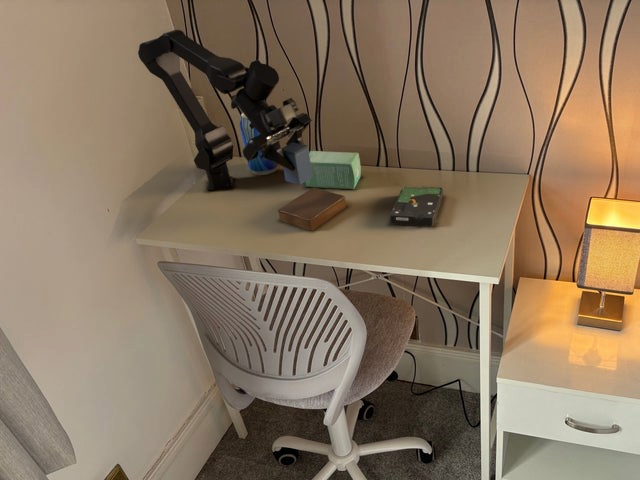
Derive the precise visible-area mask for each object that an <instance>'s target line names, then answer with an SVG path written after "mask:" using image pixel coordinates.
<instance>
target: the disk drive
mask: <svg viewBox="0 0 640 480" xmlns="http://www.w3.org/2000/svg"><path fill="white" fill-rule="evenodd" d="M443 197H444V190H443V187H436V186H435V187H433V186H431V187H430V186H421V187H417V186H415V187H413V186H407V185H405V186H404V187H402V188H401V189H400V191H399V194H398V196H397V198H396V200H395V203H394V205H393V207H392V210H391V211H390V215H389V218H390V224H393V225H401V226H402V225H403V226H417V227H418V226H419V227H433V226H434V225H435V222H436V218H437V216H438V213H439V209H440V207H441V203H442V200H443Z"/></svg>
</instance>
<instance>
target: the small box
mask: <svg viewBox="0 0 640 480" xmlns="http://www.w3.org/2000/svg"><path fill="white" fill-rule="evenodd" d="M281 149H282V150H283V152H284V153H285V154H286V156H287V157H288V158H289V159H290V161H291V162H292V163H293V165H294V167H295V170H294V171H292V170H290V169H288V168H286V167H284V166H282V169H283V176H284V179H285V180H284V181H285V182H287V183H291V184H295V185H297V186H301V185H303V184H304V183H305V182H306V181H308V180H309V179H311V178H312V177H313V176H312V169H311V163H310V156H309V152H310V150H309V145H307V144H304V145H303V144H299V143H295V142H292V143H291V144H289V145H285V146H284V147H281Z"/></svg>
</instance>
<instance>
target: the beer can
mask: <svg viewBox="0 0 640 480" xmlns="http://www.w3.org/2000/svg"><path fill="white" fill-rule="evenodd" d="M240 117H241V118H240V121H239V129H240V134H241V138H242V142H243V143H242V144H243V148H244V147H245V146H246V144H247V143H248V141H249V140H250V139H252V138H254V137H256V136H258V135H260V133H259V132H258V131H257V130H256V128H253V129H251V128H250V126H249V125H250V123H251V122H250V121H249V120H248V118H247V117H246V116H245V115H244V113H243V112H242V113H241V115H240ZM274 138H275V137H274ZM272 139H273V138H272ZM261 155H262V153H261V151H260V150H259V151H258V157H257V158H255V159H253V160H251V161H250V162H248V161H247V166H248V169H249V170H250V171H251V172H252V173H253V174H255V175H258V176H265V175H270V174H273V173H275V172H277V170H278V167H279V166H280V164H278V163H275V162H273V161H270V160H268V159H266V158H263V159H261V158H260V157H261Z"/></svg>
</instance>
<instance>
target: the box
mask: <svg viewBox="0 0 640 480" xmlns="http://www.w3.org/2000/svg"><path fill="white" fill-rule="evenodd" d="M309 156H310V163H311V169H312V176H313V177H312V178H311V179H309V180H308V181H306V182H304V183H305V187H306V188H313V187H314V188H318V189H342V190H343V189H344V190H355V188H356V187H357V184H358V182H359V180H360V179H361V175H362V170H361V169H362V167H361V159H360V154H359V152H350V151H349V152H346V151H323V150H320V151H318V150H309Z"/></svg>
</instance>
